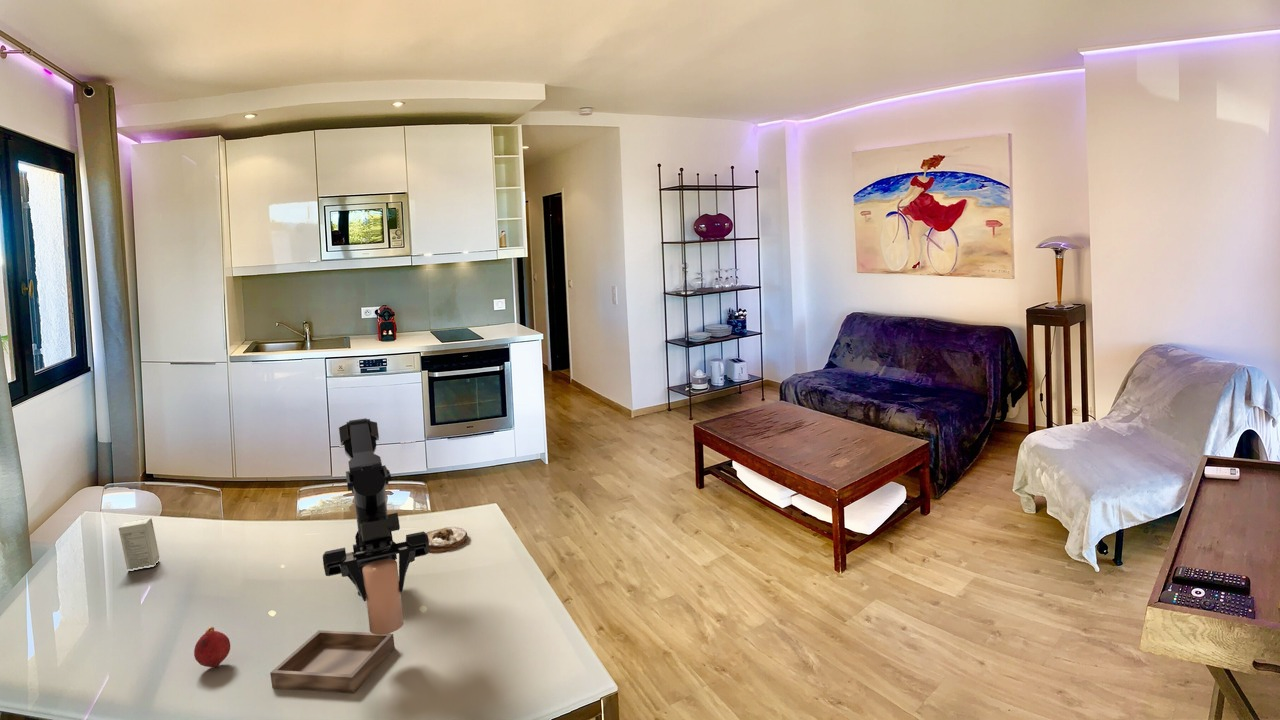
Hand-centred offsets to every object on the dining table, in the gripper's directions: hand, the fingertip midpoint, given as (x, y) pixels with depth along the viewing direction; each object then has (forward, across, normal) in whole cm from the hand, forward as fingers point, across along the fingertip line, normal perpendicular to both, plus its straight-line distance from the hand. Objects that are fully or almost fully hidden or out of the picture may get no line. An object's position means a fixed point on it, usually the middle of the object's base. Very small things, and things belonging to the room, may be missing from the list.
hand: (383, 596), depth 127 cm
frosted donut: (-27, +18, +48) cm, 58 cm away
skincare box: (-46, -54, +66) cm, 97 cm away
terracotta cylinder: (+4, 0, +6) cm, 7 cm away
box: (+7, -9, +12) cm, 17 cm away
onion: (-1, -30, +21) cm, 37 cm away
